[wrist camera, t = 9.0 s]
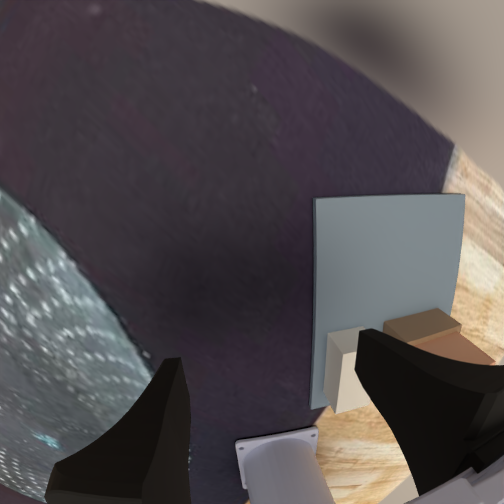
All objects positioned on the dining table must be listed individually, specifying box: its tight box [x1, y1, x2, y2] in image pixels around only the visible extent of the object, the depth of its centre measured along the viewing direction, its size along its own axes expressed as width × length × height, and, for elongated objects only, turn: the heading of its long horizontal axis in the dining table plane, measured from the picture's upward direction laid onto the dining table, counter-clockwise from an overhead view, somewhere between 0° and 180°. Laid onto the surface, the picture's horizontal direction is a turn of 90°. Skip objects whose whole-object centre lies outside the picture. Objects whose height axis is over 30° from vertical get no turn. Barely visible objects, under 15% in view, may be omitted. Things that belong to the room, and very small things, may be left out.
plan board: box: [309, 194, 465, 414], centre depth 22 cm, size 18×14×4 cm
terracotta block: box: [414, 331, 496, 365], centre depth 19 cm, size 5×5×5 cm
